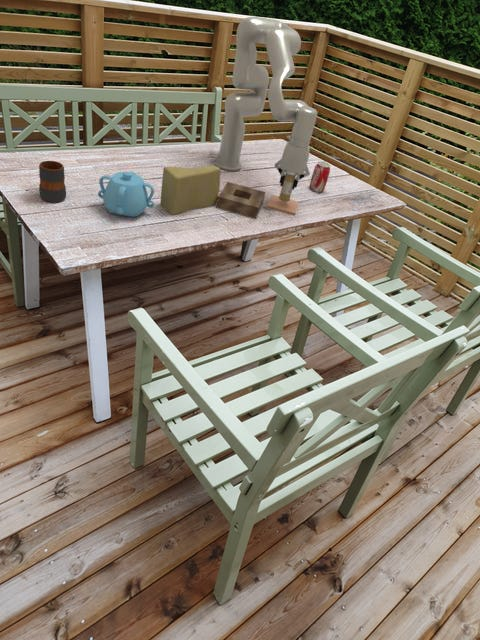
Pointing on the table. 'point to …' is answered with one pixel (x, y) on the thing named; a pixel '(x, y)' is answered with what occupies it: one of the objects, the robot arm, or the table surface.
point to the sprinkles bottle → (287, 186)
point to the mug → (52, 181)
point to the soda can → (320, 177)
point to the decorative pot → (126, 194)
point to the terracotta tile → (282, 205)
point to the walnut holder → (240, 199)
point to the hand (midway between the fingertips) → (287, 186)
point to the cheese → (189, 188)
